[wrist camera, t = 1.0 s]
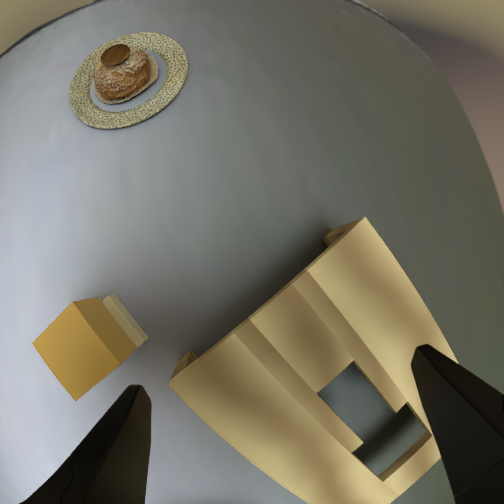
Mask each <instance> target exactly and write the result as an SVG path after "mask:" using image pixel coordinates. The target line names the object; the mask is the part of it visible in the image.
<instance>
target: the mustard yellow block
mask: <svg viewBox="0 0 504 504" xmlns="http://www.w3.org/2000/svg"><path fill="white" fill-rule="evenodd" d="M148 338H149V337H148V336H147V334H146V333H145V332H144V331H143V330H142V328H141V327H140V326H139V325H138V323H137V322H136V321H135V320H134V318H133V317H132V316H131V315H130V313H129V312H128V311H127V309H126V308H125V307H124V306H123V304H122V303H121V302H120V300H119V299H118V298H117V296H116V295H115V294H111V295H108V296H107V297H106V298H104V299H103V300H102V301H101V300H100V299H99V297H96V298H90V299H85V300H80V301H74V302H72V303H71V304H70V305H69V306H68V307H67V308H66V309H65V310H64V311H63V312H62V313H61V314H60V315H59V316H58V317H57V318H56V319H55V320H54V321H53V322H52V323H51V324H50V325H49V326H48V327H47V328H46V329H45V330H44V332H43V333H42V334H41V335H40V336H39V337H38V338H37V339H36V340H35V341H34V342H33V343H32V344H33V346H34V347H35V348H36V350H37V351H38V353H39V354H40V356H41V357H42V359H43V360H44V361H45V363H46V364H47V366H48V367H49V368H50V370H51V371H52V372H53V374H54V375H55V376H56V378H57V379H58V380H59V382H60V383H61V384H62V385H63V387H64V388H65V389H66V390H67V392H68V393H69V394H70V395H71V396H72V398H73V399H74V400H75V401H77V400H78V399H79V398H80V397H82V396H83V395H84V394H85V393H86V392H88V391H89V390H90V389H91V388H92V387H94V386H95V385H96V384H97V383H98V382H100V381H101V380H102V379H103V378H104V377H106V376H107V375H108V374H109V373H111V372H112V371H113V370H114V369H115V368H117V367H118V366H119V365H120V364H121V363H122V362H123V361H125V360H126V359H127V358H128V357H129V356H130V355H131V354H132V353H133V352H134V351H135V350H136V349H137V348H138V347H139V346H140V345H141V344H143V343H144V342H145V341H146V340H147V339H148Z"/></svg>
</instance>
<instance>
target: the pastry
mask: <svg viewBox="0 0 504 504" xmlns="http://www.w3.org/2000/svg"><path fill="white" fill-rule="evenodd" d="M141 49H142V50H141ZM143 50H149V51H153V52H155V53H157V54H159V55H160V56H161V57H162V58H163V59H164V61H165V62H166V65H167V77H166V80H165V82H164V84H163V86H162V87H161V89H160V90H159V91H158V92H157V94H156V95H154V96H153V97H152V98H151V99H150V100H149V101H147V102H146V103H144V104H142V105H140V106H138V107H136V108H134V109H131V110H127V111H122V112H109V111H105V110H102V109H100V108H99V107H97V106H96V105H95V104H94V103H93V101H92V99H91V96H90V85H91V82H92V79H93V77H94V91H95V94H96V95H97V97H98V98H99V99H100V100H101V101H102V102H103V103H107V104H113V103H114V104H115V103H120V102H123V101H125V100H129V99H130V98H132V97H133V96H135V95H137V94H139V93H140V92H141V91H143V90H144V89H145V88H147V87H148V86H149V85H150V84H152V83H153V82H154V81H155V80H156V79H157V76H158V66H157V63H156V61H155V60H154V58H153V57H152V56H150V55H149V54H148V53H146V52H144V51H143ZM187 72H188V60H187V56H186V53H185V52H184V50H183V49H182V48H181V47H180V45H179V44H178V43H177V42H176V41H174V40H173V39H171V38H168V37H166V36H164V35H161V34H157V33H150V32H142V33H135V34H130V35H125V36H122V37H119V38H117V39H115V40H112V41H110V42H107V43H106V44H104V45H102V46H101V47H99V48H98V49H96V50H95V51H94V52H93V53H91V54H90V55H89V56H88V57H87V58H86V60H85V61H84V62H83V63H82V65H81V66H80V67H79V68H78V70H77V71H76V73H75V76H74V78H73V80H72V83H71V85H70V90H69V101H70V105H71V108H72V110H73V112H74V114H75V115H76V117H77V118H78V119H79V120H81V121H82V122H84V123H85V124H87V125H89V126H91V127H95V128H99V129H114V128H122V127H127V126H131V125H134V124H136V123H139V122H141V121H143V120H146V119H148V118H150V117H151V116H153V115H155V114H156V113H158V112H159V111H161V110H162V109H163V108H164V107H166V106H167V105H168V104H169V103H170V102H171V101H172V100H173V99H174V98H175V96H176V95H177V94H178V92H179V91H180V89H181V88H182V86H183V84H184V82H185V79H186V76H187ZM113 99H116V101H112V100H113Z"/></svg>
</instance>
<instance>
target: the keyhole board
mask: <svg viewBox="0 0 504 504" xmlns="http://www.w3.org/2000/svg"><path fill="white" fill-rule="evenodd" d="M323 241H324V242H325V243H326V245H327V246H328V248H327V249H326V250H325V251H324V252H323V253H322V254H321V255H319V256H318V257H317V258H316V259H315V260H314V261H313V262H312V263H310V264H309V265H308V266H307V267H306V268H305V269H304V270H303V271H301V272H300V273H299V274H298V275H297V276H296V277H295V278H294V279H292V280H291V281H290V282H289V283H288V284H287V285H285V286H284V287H283V288H282V289H281V290H280V291H279V292H277V293H276V294H275V295H274V296H273V297H272V298H270V299H269V300H268V301H267V302H266V303H265V304H263V305H262V306H261V307H260V308H259V309H257V310H256V311H255V312H254V313H253V314H252V315H250V316H249V317H248V318H247V319H246V320H244V321H243V322H242V323H241V324H240V325H238V326H237V327H236V328H235V329H233V330H232V331H231V332H230V333H229V334H227V335H226V336H225V337H224V338H223V339H221V340H220V341H219V342H218V343H216V344H215V345H214V346H213V347H211V348H210V349H209V350H208V351H206V352H205V353H204V354H203V355H201V356H200V357H199V358H198V357H197V356H196V355H195V354H194V353H193V351H192V350H190V351H189V352H188V353H186V354H185V355H184V356H183V357H181V358H180V359H179V362H178V364H177V366H176V368H175V371H174V373H173V375H172V377H171V379H170V382H169V384H168V386H169V387H170V388H171V389H172V390H173V391H174V392H175V393H176V394H177V395H178V396H179V397H180V398H181V399H182V400H183V401H184V402H185V403H186V404H187V405H188V406H189V407H190V408H191V409H192V410H193V411H194V412H195V413H196V414H197V415H198V416H199V417H200V418H201V419H202V420H203V421H204V422H205V423H206V424H207V425H209V426H210V427H211V428H212V429H213V430H214V431H215V432H216V433H217V434H218V435H220V436H221V437H222V438H223V439H224V440H225V441H226V442H228V443H229V444H230V445H231V446H232V447H233V448H235V449H236V450H237V451H238V452H239V453H241V454H242V455H243V456H244V457H245V458H247V459H248V460H249V461H250V462H252V463H253V464H254V465H255V466H257V467H258V468H259V469H260V470H262V471H263V472H264V473H266V474H267V475H268V476H270V477H271V478H272V479H274V480H275V481H276V482H278V483H279V484H281V485H282V486H283V487H285V488H286V489H288V490H289V491H290V492H292V493H293V494H295V495H296V496H298V497H299V498H301V499H302V500H304V501H305V502H307V503H308V504H390V503H391V502H392V501H393V500H395V499H396V498H397V497H398V496H399V495H401V494H402V493H403V492H404V491H405V490H407V489H408V488H409V487H410V486H411V485H412V484H413V483H414V482H416V481H417V480H418V479H419V478H420V477H421V476H422V475H423V474H424V473H425V472H426V471H427V470H428V469H429V468H430V467H431V466H433V465H434V464H435V463H436V462H437V460H438V459H439V458H440V457H441V455H440V452H439V449H438V447H437V444H436V441H435V438H434V436H433V433H432V430H431V428H430V425H429V422H428V420H427V417H426V415H425V412H424V410H423V407H422V404H421V401H420V397H419V394H418V390H417V387H416V383H415V380H414V376H413V373H412V370H411V361H412V358H413V355H414V352H415V349H416V347H417V346H420V345H423V344H429V345H431V346H432V347H434V348H435V349H437V350H438V351H440V352H441V353H443V354H444V355H446V356H447V357H449V358H450V359H452V360H453V361H455V362H456V363H458V362H457V360H456V358H455V356H454V354H453V352H452V350H451V349H450V347H449V345H448V343H447V341H446V340H445V338H444V336H443V334H442V332H441V331H440V329H439V327H438V325H437V324H436V322H435V320H434V319H433V317H432V315H431V314H430V312H429V310H428V309H427V307H426V305H425V304H424V302H423V300H422V299H421V297H420V296H419V294H418V292H417V291H416V289H415V288H414V286H413V285H412V283H411V281H410V280H409V278H408V277H407V275H406V274H405V272H404V271H403V269H402V268H401V266H400V265H399V263H398V262H397V260H396V259H395V258H394V256H393V255H392V253H391V252H390V250H389V249H388V247H387V246H386V245H385V243H384V242H383V240H382V239H381V238H380V236H379V235H378V234H377V232H376V231H375V229H374V228H373V227H372V225H371V224H370V223H369V221H368V220H367V219H366V217H364V218H361V219H359V220H356V221H354V222H351V223H348V224H346V225H343V226H341V227H338V228H336V229H333V230H331V231H330V232H329V233H328V234H327V235H326V236H325V237H324V238H323ZM351 362H353V363H354V364H355V365H356V367H357V368H358V369H359V370H360V372H361V373H362V374H363V375H364V377H365V378H366V379H367V380H368V382H369V383H370V384H371V385H372V386H373V388H374V389H375V390H376V391H377V393H378V394H379V395H380V396H381V398H382V399H383V400H384V401H385V403H386V404H387V405H388V406H389V408H391V409H392V410H393V411H395V412H396V413H397V412H398V411H399V410H400V409H401V407H402V406H403V405H404V404H405V403H406V404H407V406H408V407H409V408H410V410H411V411H412V412H413V414H414V415H415V416H416V418H417V419H418V421H419V422H420V423H421V425H422V426H423V427H424V429H425V430H426V432H425V433H424V434H423V435H422V436H421V437H420V438H419V439H418V440H417V441H416V442H415V443H414V444H413V445H412V446H411V447H410V448H409V449H408V450H407V451H406V452H405V453H404V454H403V455H402V456H401V457H399V458H398V459H397V460H396V461H395V462H394V463H393V464H392V465H390V466H389V467H388V468H387V469H386V470H385V471H384V472H382V473H381V474H380V475H379V476H377V475H376V474H375V473H374V472H372V471H371V470H370V469H369V468H368V467H367V466H366V465H365V464H364V463H362V462H361V461H360V460H359V459H358V458H357V457H356V456H355V455H354V454H353V453H352V452H353V451H355V450H356V449H357V448H358V447H359V446H361V445H362V444H363V441H362V440H361V439H360V438H359V437H358V436H357V435H356V434H355V433H354V432H353V431H352V430H351V429H350V428H349V427H348V426H347V425H346V424H345V423H344V422H343V421H342V420H341V419H340V418H339V417H338V416H337V414H336V413H335V412H334V411H333V410H332V409H331V408H330V407H329V406H328V405H327V404H326V403H325V402H324V401H323V400H322V399H321V398H320V397H319V395H318V394H317V393H318V392H319V391H320V390H321V389H322V388H324V387H325V386H326V385H327V384H328V383H329V382H330V381H332V380H333V379H334V378H335V377H336V376H337V375H338V374H339V373H340V372H342V371H343V370H344V369H345V368H346V367H347V366H348V365H349V364H350V363H351Z"/></svg>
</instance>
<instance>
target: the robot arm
mask: <svg viewBox="0 0 504 504" xmlns="http://www.w3.org/2000/svg"><path fill="white" fill-rule="evenodd" d="M411 370H412V373H413V376H414V380H415V383H416V387H417V390H418V394H419V397H420V401H421V404H422V407H423V410H424V412H425V415H426V417H427V420H428V422H429V425H430V428H431V430H432V433H433V436H434V438H435V441H436V444H437V447H438V449H439V452H440V455H441V458H442V461H443V464H444V467H445V470H446V473H447V476H448V479H449V483H450V486H451V489H452V493H453V496H454V500H455V504H504V394H501V392H499V391H498V390H496V389H495V388H493V387H492V386H490V385H489V384H488V383H486V382H485V381H483V380H482V379H480V378H479V377H477V376H476V375H474V374H473V373H471V372H470V371H468V370H467V369H465V368H464V367H462V366H461V365H459V364H458V363H456V362H455V361H453V360H452V359H450V358H449V357H447V356H446V355H444V354H443V353H441V352H440V351H438V350H437V349H435V348H434V347H432V346H431V345H429V344H423V345H420V346H417V347H416V349H415V352H414V355H413V358H412V361H411ZM150 447H151V400H150V398H149V396H148V394H147V393H146V391H145V389H144V388H143V386H141V385H129V386H128V387H127V388H126V389H125V391H124V392H123V393H122V394H121V395H120V396H119V398H118V399H117V400H116V401H115V402H114V404H113V405H112V406H111V407H110V408H109V409H108V411H107V412H106V413H105V414H104V415H103V417H102V418H101V419H100V420H99V421H98V422H97V424H96V425H95V426H94V427H93V428H92V430H91V431H90V432H89V433H88V434H87V435H86V437H85V438H84V439H83V440H82V441H81V443H80V444H79V445H78V446H77V447H76V449H75V450H74V451H73V452H72V453H71V455H70V456H69V457H68V458H67V459H66V460H65V462H64V463H63V464H62V465H61V466H60V467H59V468H58V470H57V471H56V472H55V473H54V474H53V475H52V476H51V477H50V478H49V479H48V480H47V481H46V482H45V483H44V484H43V485H42V486H40V487H39V488H38V489H37V490H36V491H35V492H34V493H33V494H32V495H31V496H30V497H29V498H27V499H26V500H25V501H23V502H21V503H19V504H145V495H146V484H147V474H148V465H149V456H150Z"/></svg>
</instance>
